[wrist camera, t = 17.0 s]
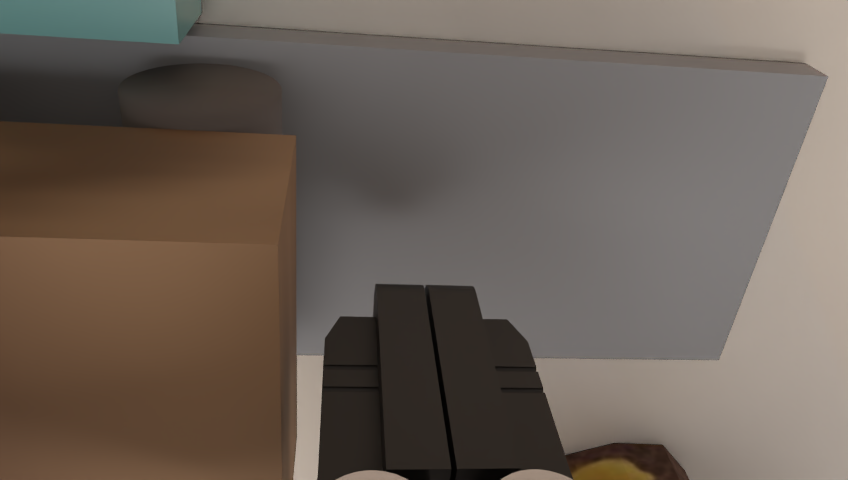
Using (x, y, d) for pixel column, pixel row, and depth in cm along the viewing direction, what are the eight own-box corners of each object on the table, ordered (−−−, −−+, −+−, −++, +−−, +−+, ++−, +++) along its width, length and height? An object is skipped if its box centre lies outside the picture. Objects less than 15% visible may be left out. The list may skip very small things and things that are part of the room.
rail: (805, 63, 14) (1044, 199, 9) (704, 339, 18) (840, 542, 13) (-379, -15, 12) (-903, 115, 7) (-223, 324, 15) (-493, 570, 10)
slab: (305, 69, 12) (277, 228, 8) (304, 359, 15) (284, 594, 11) (-212, 38, 11) (-601, 200, 7) (-97, 354, 15) (-305, 610, 10)
